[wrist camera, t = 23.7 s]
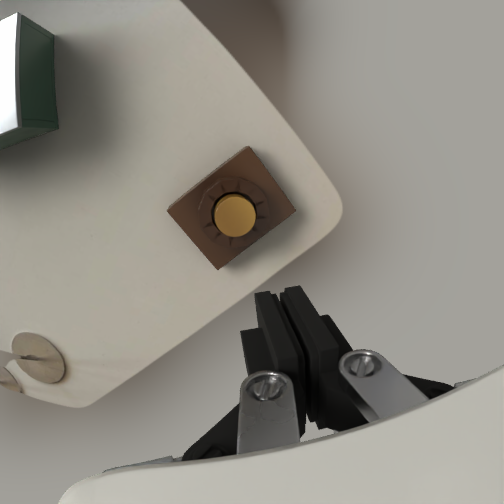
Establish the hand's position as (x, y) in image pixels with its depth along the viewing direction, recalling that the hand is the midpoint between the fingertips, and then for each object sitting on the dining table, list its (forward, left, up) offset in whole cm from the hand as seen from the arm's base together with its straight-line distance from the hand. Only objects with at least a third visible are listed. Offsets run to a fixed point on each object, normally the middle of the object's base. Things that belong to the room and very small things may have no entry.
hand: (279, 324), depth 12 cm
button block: (0, 0, -23) cm, 23 cm away
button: (0, 0, -20) cm, 20 cm away
